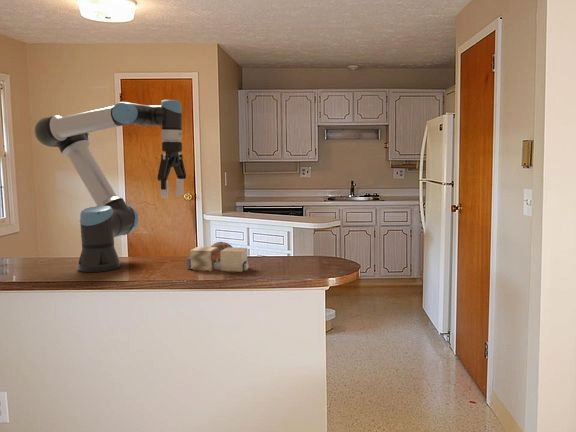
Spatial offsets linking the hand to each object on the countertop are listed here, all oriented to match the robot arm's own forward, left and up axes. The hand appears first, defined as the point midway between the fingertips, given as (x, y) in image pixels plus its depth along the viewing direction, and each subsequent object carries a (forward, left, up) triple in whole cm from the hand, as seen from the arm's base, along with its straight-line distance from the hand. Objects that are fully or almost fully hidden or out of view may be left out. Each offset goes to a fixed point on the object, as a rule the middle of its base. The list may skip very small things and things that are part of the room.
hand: (172, 196), depth 201 cm
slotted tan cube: (+14, -4, -27) cm, 31 cm away
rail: (+20, -4, -27) cm, 34 cm away
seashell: (+15, +12, -27) cm, 34 cm away
